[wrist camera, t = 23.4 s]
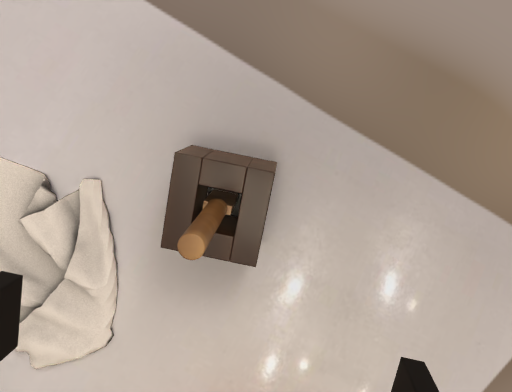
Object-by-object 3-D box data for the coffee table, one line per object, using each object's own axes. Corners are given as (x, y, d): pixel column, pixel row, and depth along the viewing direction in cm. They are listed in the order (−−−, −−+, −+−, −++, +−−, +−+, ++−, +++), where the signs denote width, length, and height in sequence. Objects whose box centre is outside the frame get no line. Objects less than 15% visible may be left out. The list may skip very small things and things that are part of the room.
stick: (239, 189, 41) (212, 237, 26) (236, 206, 41) (208, 264, 26) (214, 184, 41) (173, 229, 26) (211, 201, 41) (169, 256, 27)
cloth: (45, 390, 47) (33, 405, 44) (-103, 234, 44) (-125, 241, 42) (189, 282, 43) (183, 292, 41) (36, 104, 40) (21, 104, 38)
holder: (277, 162, 40) (275, 172, 34) (260, 244, 42) (255, 267, 36) (191, 144, 40) (174, 152, 34) (178, 227, 42) (160, 247, 36)
